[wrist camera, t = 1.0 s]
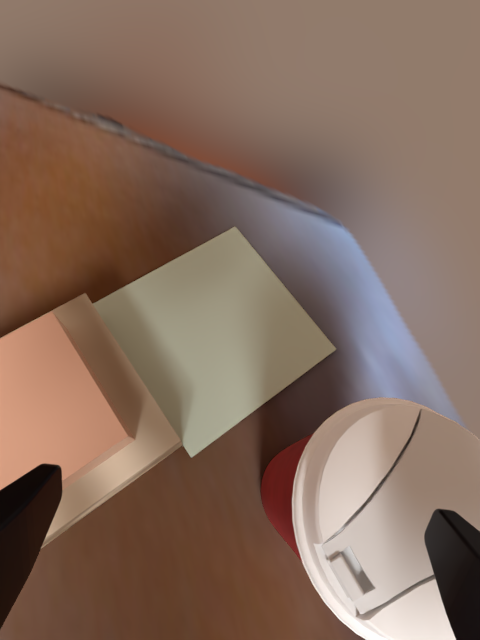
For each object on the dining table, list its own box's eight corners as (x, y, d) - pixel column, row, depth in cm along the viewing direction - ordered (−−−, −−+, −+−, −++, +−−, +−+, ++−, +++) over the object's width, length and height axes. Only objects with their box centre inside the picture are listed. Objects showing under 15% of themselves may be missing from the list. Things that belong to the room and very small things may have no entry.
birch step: (-36, 604, 20) (-87, 634, 16) (-109, 433, 23) (-167, 426, 19) (182, 444, 24) (180, 440, 21) (100, 316, 27) (85, 292, 23)
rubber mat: (191, 457, 24) (191, 457, 24) (93, 306, 27) (91, 304, 27) (334, 350, 28) (336, 349, 28) (234, 229, 31) (235, 226, 31)
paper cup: (285, 588, 22) (414, 754, 9) (222, 469, 24) (254, 468, 11) (383, 512, 24) (596, 559, 11) (317, 408, 26) (434, 350, 14)
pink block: (-11, 540, 18) (-40, 550, 16) (-74, 405, 20) (-109, 396, 18) (135, 439, 20) (128, 436, 18) (66, 327, 22) (52, 311, 20)
